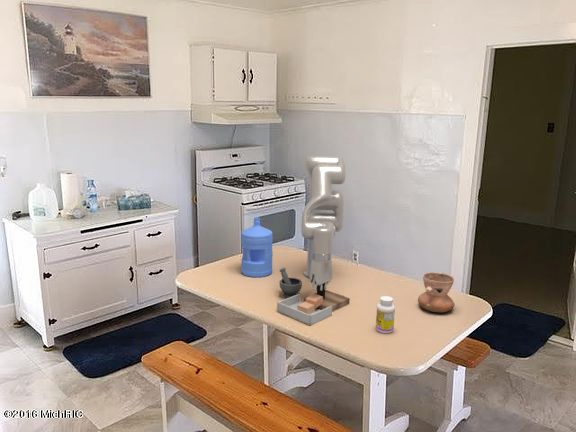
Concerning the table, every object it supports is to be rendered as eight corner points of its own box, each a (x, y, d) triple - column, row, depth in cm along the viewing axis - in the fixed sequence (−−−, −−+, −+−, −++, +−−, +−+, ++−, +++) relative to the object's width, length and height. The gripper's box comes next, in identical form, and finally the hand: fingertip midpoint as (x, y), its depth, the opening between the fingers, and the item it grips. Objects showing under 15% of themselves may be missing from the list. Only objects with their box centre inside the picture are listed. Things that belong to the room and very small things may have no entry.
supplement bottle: (373, 326, 188) (375, 294, 185) (390, 325, 188) (392, 294, 185) (378, 334, 181) (380, 302, 178) (395, 333, 182) (398, 301, 179)
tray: (298, 302, 209) (299, 293, 208) (331, 315, 197) (332, 306, 196) (277, 311, 199) (277, 302, 198) (310, 325, 187) (310, 316, 186)
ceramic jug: (441, 320, 194) (445, 286, 191) (409, 308, 204) (412, 276, 201) (461, 307, 207) (465, 276, 204) (430, 297, 217) (433, 267, 213)
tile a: (313, 299, 205) (313, 293, 204) (323, 302, 202) (322, 296, 201) (306, 304, 201) (305, 298, 200) (315, 308, 198) (315, 301, 197)
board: (324, 294, 217) (324, 289, 217) (349, 303, 208) (349, 298, 207) (303, 303, 208) (303, 298, 207) (328, 313, 198) (328, 307, 198)
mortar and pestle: (305, 296, 215) (306, 270, 213) (291, 302, 209) (292, 275, 206) (287, 289, 223) (287, 264, 220) (272, 295, 216) (273, 269, 213)
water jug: (254, 265, 255) (254, 212, 248) (278, 271, 246) (279, 217, 239) (234, 273, 243) (234, 218, 236) (259, 280, 234) (259, 223, 227)
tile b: (305, 308, 202) (305, 301, 201) (314, 311, 199) (314, 304, 198) (297, 311, 198) (297, 305, 197) (307, 315, 195) (307, 308, 194)
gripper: (326, 250, 208) (325, 291, 212) (303, 258, 197) (302, 300, 201) (340, 254, 203) (338, 295, 207) (317, 262, 192) (316, 305, 196)
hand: (320, 298), depth 204 cm, fingers closed
